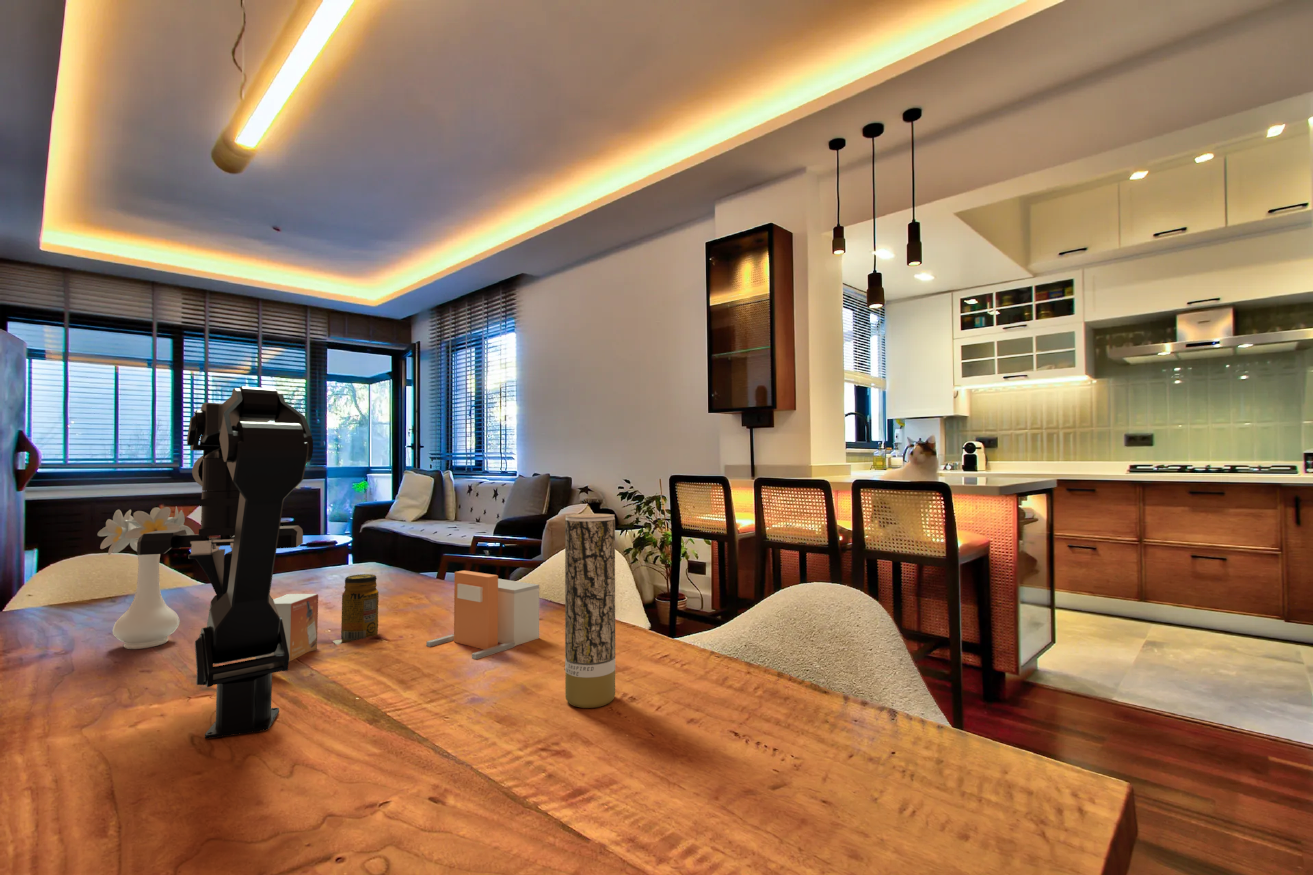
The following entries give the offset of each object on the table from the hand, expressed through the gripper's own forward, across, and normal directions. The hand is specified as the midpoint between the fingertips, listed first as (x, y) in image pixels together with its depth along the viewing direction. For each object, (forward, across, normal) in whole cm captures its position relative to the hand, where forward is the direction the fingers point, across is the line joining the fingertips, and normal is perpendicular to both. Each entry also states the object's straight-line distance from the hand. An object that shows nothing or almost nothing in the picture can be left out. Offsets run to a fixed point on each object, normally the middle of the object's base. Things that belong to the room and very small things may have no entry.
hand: (223, 600), depth 87 cm
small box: (+13, -6, -12) cm, 19 cm away
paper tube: (+13, -48, +22) cm, 54 cm away
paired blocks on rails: (+13, -35, -5) cm, 37 cm away
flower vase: (+13, +21, -34) cm, 42 cm away
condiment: (+13, -16, -20) cm, 29 cm away
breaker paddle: (+12, -35, -6) cm, 37 cm away
